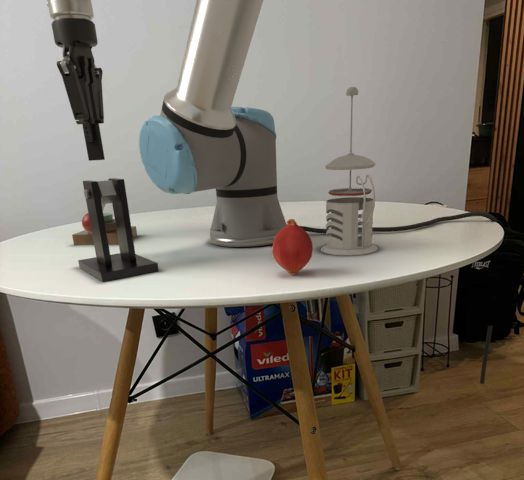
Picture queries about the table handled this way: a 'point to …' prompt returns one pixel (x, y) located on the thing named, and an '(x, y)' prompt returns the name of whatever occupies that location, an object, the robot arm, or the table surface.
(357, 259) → the table surface
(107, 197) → the lever
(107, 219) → the button
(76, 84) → the robot arm
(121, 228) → the bracket
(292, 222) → the onion
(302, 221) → the table surface
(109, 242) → the button block
